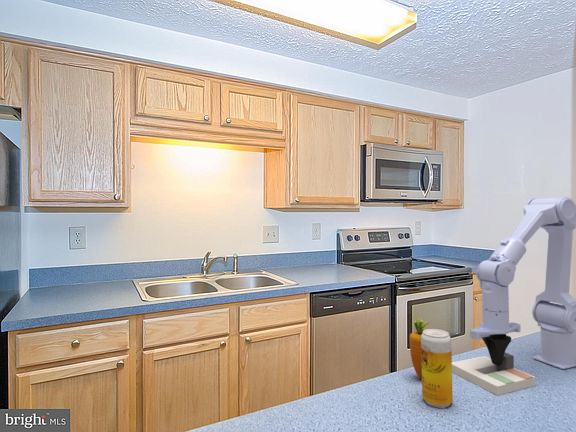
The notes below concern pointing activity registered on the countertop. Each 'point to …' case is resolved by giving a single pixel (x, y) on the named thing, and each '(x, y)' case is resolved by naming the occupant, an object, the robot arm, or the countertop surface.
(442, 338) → the beer can
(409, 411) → the countertop surface
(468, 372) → the switch board
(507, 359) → the switch handle
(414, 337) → the carrot
